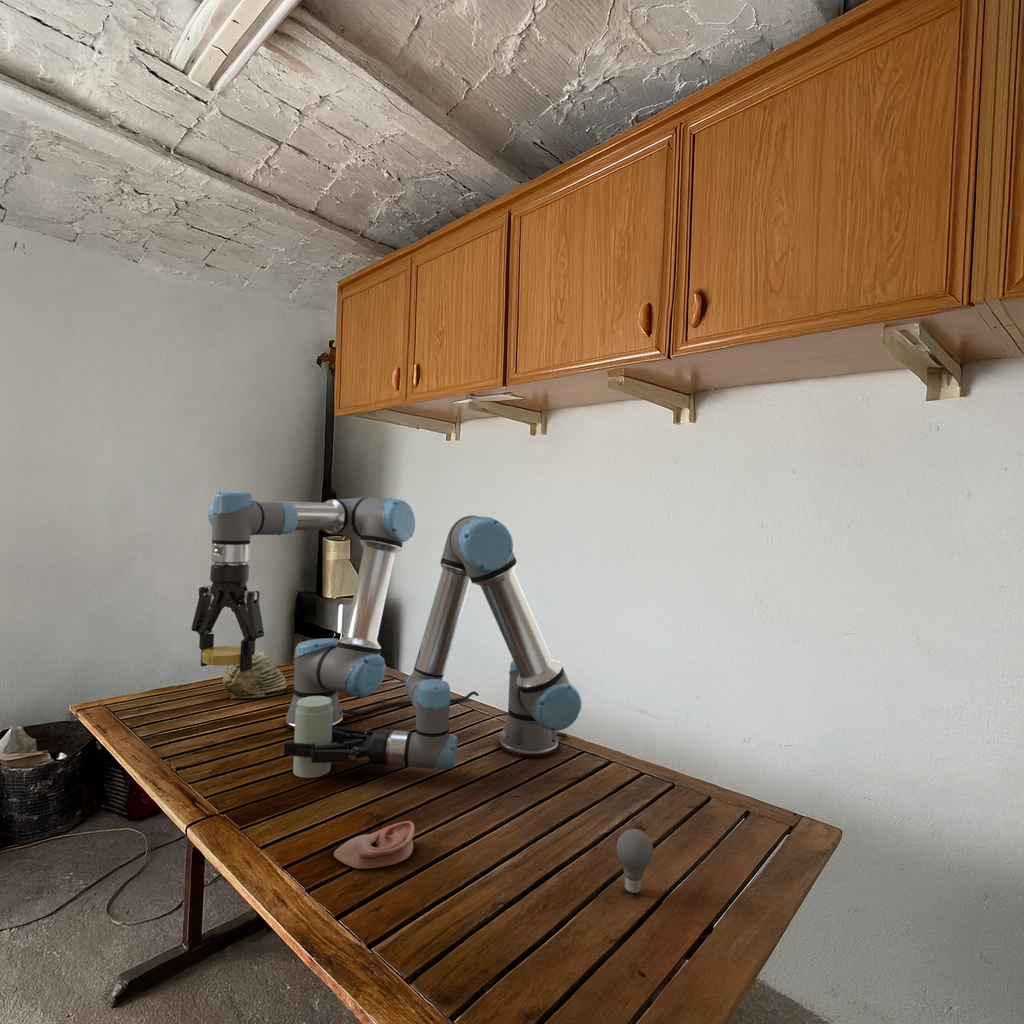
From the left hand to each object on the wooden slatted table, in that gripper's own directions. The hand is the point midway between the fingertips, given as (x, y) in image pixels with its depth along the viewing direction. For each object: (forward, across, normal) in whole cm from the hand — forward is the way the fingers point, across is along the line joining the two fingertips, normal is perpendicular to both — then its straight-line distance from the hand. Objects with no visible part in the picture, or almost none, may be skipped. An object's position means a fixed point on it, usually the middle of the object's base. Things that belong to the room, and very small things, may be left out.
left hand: (226, 667), depth 136 cm
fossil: (+26, -35, +54) cm, 69 cm away
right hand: (+19, +8, +13) cm, 25 cm away
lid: (-3, 0, 0) cm, 3 cm away
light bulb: (+26, +88, -6) cm, 92 cm away
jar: (+26, +13, +14) cm, 32 cm away
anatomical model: (+26, +43, -11) cm, 51 cm away
